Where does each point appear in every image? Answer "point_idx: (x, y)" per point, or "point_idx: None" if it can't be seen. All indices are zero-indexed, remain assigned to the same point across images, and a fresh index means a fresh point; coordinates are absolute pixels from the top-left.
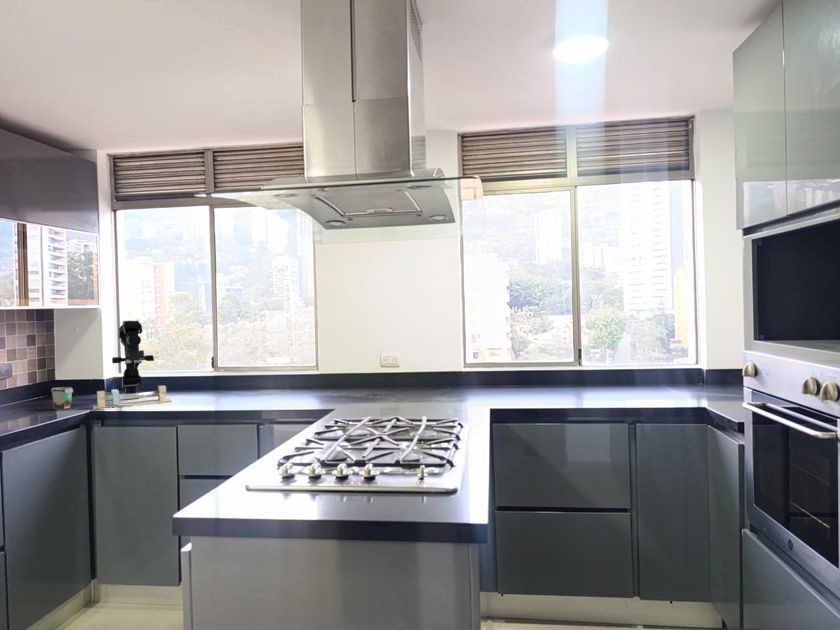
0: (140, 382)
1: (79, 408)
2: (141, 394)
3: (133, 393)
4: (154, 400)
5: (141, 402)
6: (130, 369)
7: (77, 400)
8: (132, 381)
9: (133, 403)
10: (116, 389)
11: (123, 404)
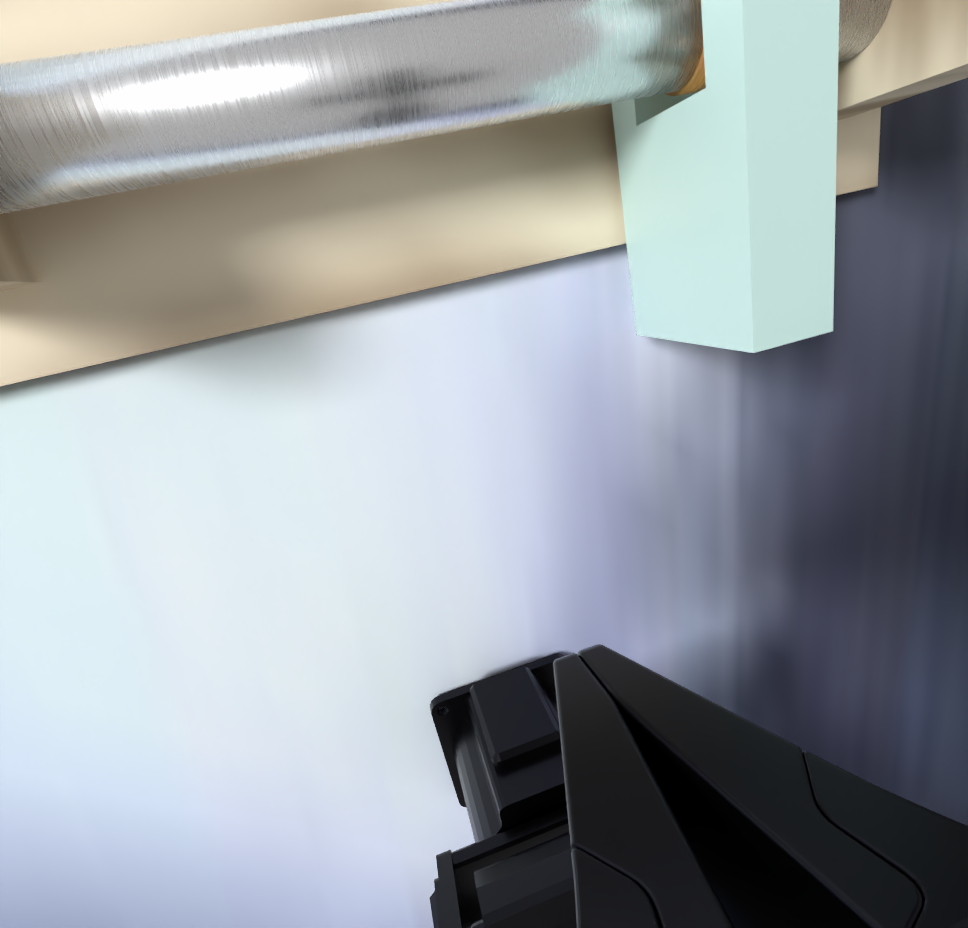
0: (442, 913)
1: (962, 196)
2: (265, 27)
3: (429, 30)
4: (100, 234)
5: None
6: (834, 798)
7: (908, 768)
8: (568, 853)
9: None
10: (762, 311)
11: None
